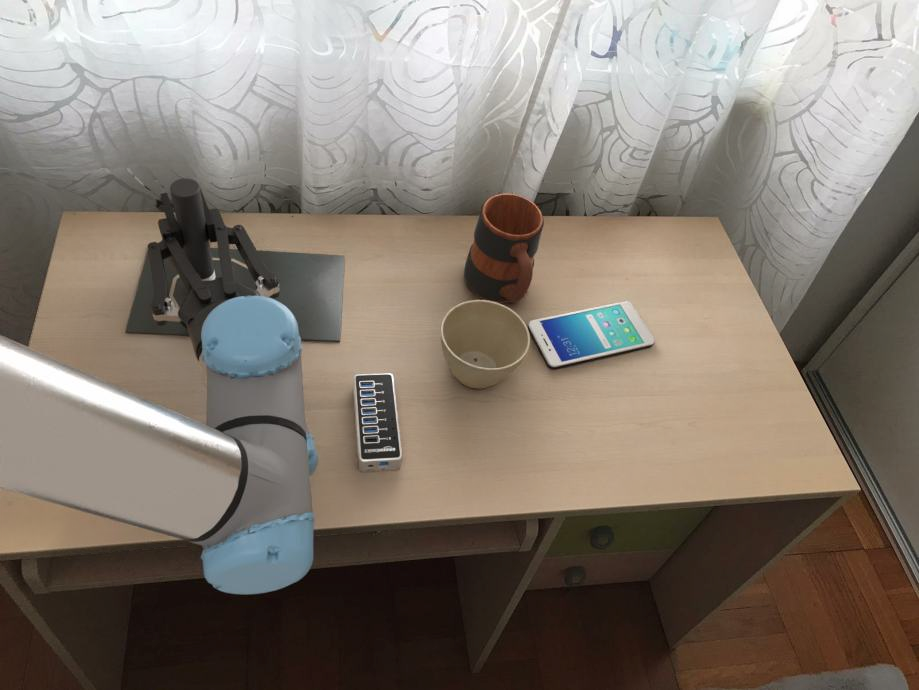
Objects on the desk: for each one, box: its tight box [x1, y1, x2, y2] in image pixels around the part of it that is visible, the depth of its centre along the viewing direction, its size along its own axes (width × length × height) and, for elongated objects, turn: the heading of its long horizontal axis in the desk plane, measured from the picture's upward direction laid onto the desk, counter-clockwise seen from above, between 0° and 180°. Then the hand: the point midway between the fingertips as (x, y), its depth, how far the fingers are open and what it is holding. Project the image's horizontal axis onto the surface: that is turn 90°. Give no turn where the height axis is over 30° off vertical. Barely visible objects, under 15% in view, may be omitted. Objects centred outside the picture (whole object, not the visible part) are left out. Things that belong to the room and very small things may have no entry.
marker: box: [169, 177, 216, 281], centre depth 84 cm, size 3×3×14 cm
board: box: [124, 247, 346, 343], centre depth 90 cm, size 24×14×1 cm, turn 93°
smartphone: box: [527, 300, 655, 370], centre depth 93 cm, size 7×1×15 cm
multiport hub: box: [352, 372, 403, 473], centre depth 80 cm, size 4×11×2 cm, turn 8°
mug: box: [463, 193, 545, 304], centre depth 92 cm, size 9×12×12 cm
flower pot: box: [440, 299, 531, 390], centre depth 85 cm, size 10×10×7 cm
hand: (182, 199), depth 87 cm, fingers closed on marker, 3 cm apart
